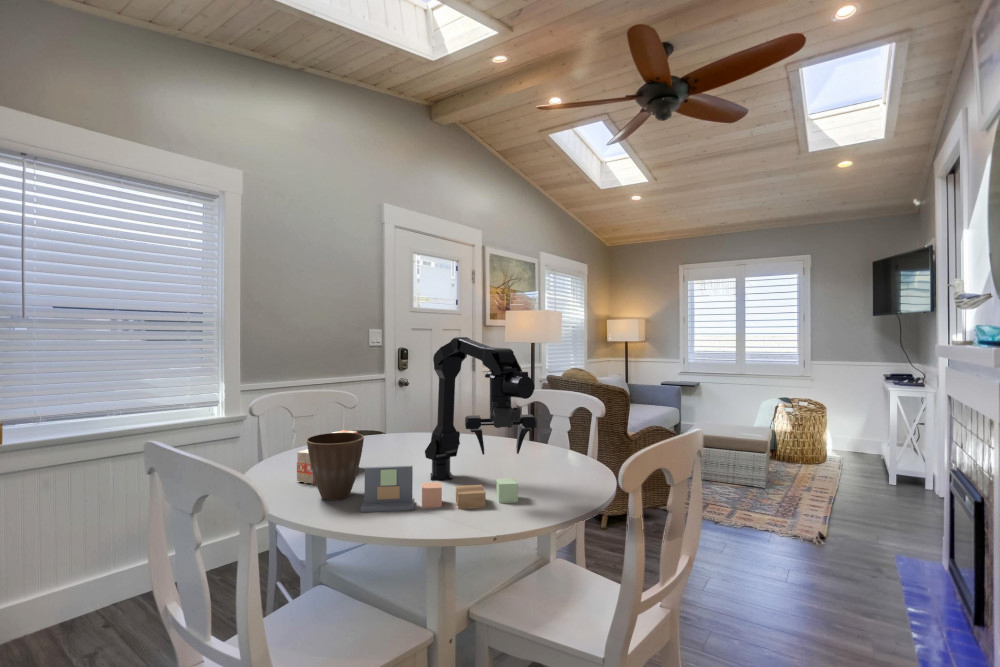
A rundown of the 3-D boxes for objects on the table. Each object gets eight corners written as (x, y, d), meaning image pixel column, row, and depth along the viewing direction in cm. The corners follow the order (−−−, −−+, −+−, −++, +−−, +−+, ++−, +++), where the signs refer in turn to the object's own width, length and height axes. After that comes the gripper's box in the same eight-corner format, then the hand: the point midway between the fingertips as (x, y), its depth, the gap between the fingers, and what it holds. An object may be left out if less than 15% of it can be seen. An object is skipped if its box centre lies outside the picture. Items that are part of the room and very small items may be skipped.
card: (363, 504, 132) (363, 465, 132) (414, 502, 134) (414, 464, 134) (360, 512, 126) (360, 471, 126) (413, 509, 128) (413, 470, 128)
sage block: (496, 497, 138) (496, 479, 138) (514, 496, 139) (514, 478, 139) (499, 503, 133) (499, 484, 133) (517, 502, 134) (517, 483, 134)
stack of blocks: (313, 485, 149) (313, 443, 149) (296, 483, 151) (296, 441, 152) (358, 467, 169) (358, 430, 169) (342, 466, 171) (342, 429, 172)
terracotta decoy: (422, 501, 134) (422, 482, 134) (441, 500, 135) (441, 482, 135) (421, 508, 129) (422, 488, 130) (441, 507, 130) (441, 487, 130)
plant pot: (369, 500, 135) (369, 440, 135) (309, 508, 129) (309, 445, 129) (358, 485, 149) (358, 430, 149) (303, 492, 142) (304, 435, 142)
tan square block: (455, 500, 136) (455, 486, 136) (481, 499, 137) (481, 484, 137) (458, 509, 129) (458, 494, 129) (485, 508, 130) (485, 492, 130)
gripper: (466, 399, 126) (466, 462, 126) (540, 398, 128) (540, 460, 128) (464, 394, 137) (464, 452, 137) (532, 393, 139) (533, 450, 139)
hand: (500, 454), depth 135 cm, fingers open, 9 cm apart
